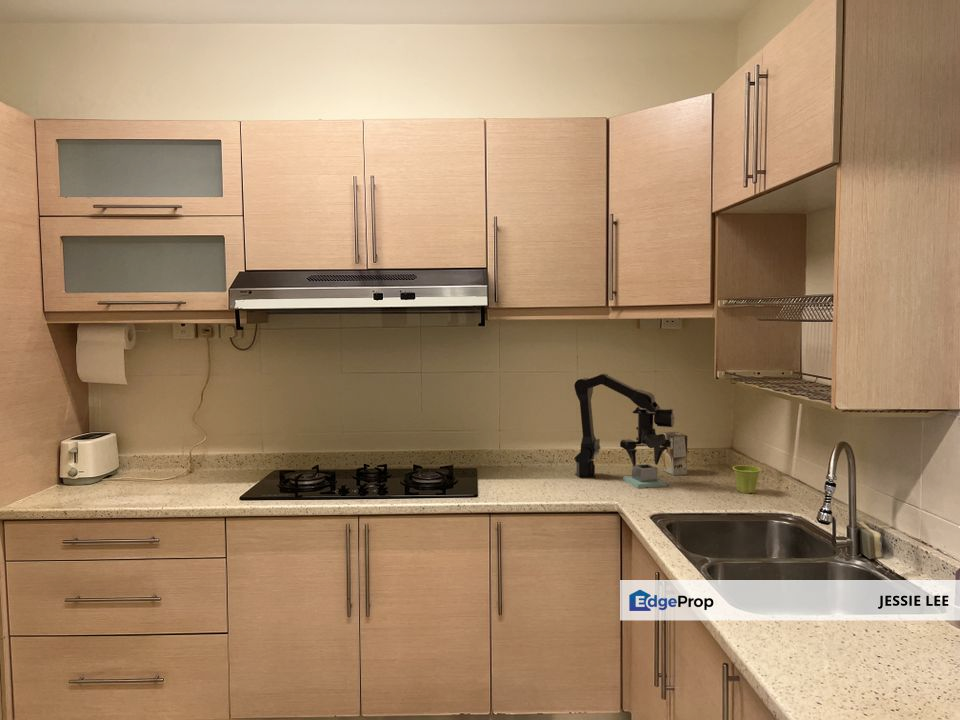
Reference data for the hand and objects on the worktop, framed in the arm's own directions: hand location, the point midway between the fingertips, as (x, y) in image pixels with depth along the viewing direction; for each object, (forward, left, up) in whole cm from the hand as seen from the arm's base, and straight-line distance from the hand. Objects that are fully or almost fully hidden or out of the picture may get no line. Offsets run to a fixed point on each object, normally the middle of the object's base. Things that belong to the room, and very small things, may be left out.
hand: (645, 465), depth 240 cm
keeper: (0, 0, -7) cm, 7 cm away
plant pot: (+30, -20, -7) cm, 37 cm away
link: (0, 0, -5) cm, 5 cm away
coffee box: (+20, +12, -7) cm, 24 cm away
